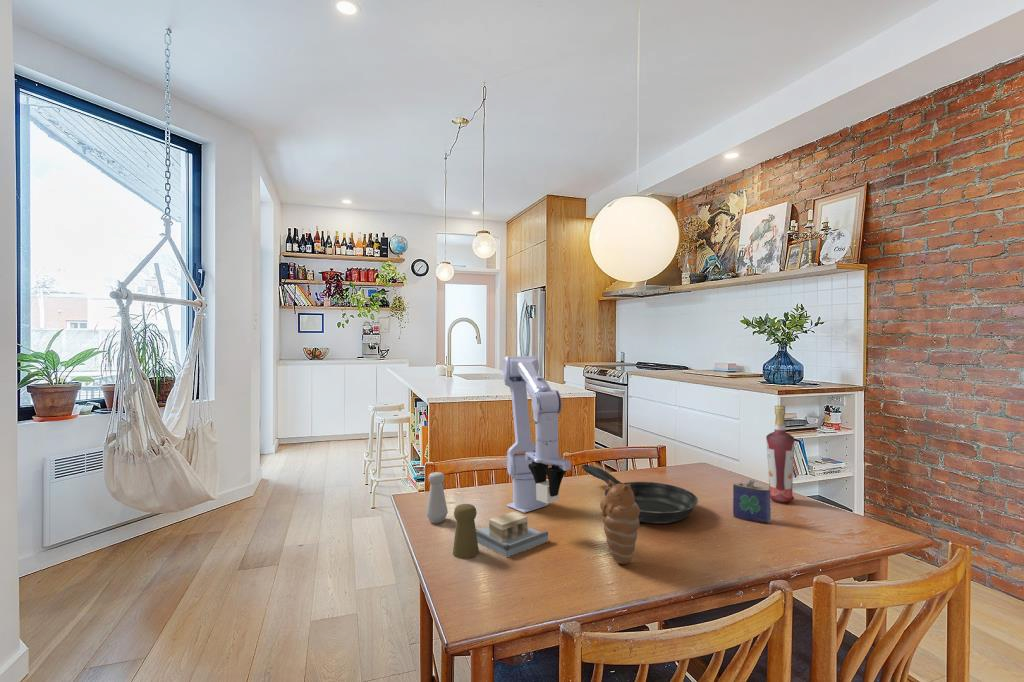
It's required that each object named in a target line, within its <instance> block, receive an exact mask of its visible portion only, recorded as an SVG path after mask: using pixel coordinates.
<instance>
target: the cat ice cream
mask: <svg viewBox="0 0 1024 682" xmlns="http://www.w3.org/2000/svg"><path fill="white" fill-rule="evenodd" d="M608 488H609V491H608V493H607V495H606V496H604V497H602V499H601V500H600V505H599V507H600V510H601V514H600V515H601V517H600V518H601V521H602V522H603V532H604V535H605V536H606V537H605V539H606V544H607V546H608V548H609V551H610V552H609V553H610V555H611V557H612V559H613V560H614V561H615V562H616V563H617V564H619V565H627V564H629V563H630V562H632V559H633V556H634V555H633V554H634V551H635V547H636V541H637V538H638V531H639V529H640V525H641V523H640V521H639V519H638V516H639V514H640V509H639V507H638V505H637V503H636V502H635V499H634V494H633V491H632V490H631V484H627V485H625V484H615V483H614V482H613V481H611V480H609V486H608Z"/></svg>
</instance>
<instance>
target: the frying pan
mask: <svg viewBox="0 0 1024 682" xmlns="http://www.w3.org/2000/svg"><path fill="white" fill-rule="evenodd" d="M581 467H582V469H583V471H585V472H586V473H587V474H589V475H591V476H592V477H594V478H597V479H599V480H601V481H603V482H605V483H606V485H608V487H607V488H606V489H605V492H604V497H606V495H607V493H608V491H609V480H611V481H613V482H614V483H615V484H625V485H627V484H631V490H632V491H633V494H634V499H635V502H636V503H637V505H638V507H639V509H640V514H639V516H638V519H639V523H640V522H641V523H645V524H670V523H675V522H679V521H681V520H683V519H685V518H687V516H689V515H691V513H692V512H693V510H694V508H695V507H696V506H697V505H698V504H699V498H698V497H697V496H696V495H695V494H694V493H693V492H691V491H690V490H688V489H685V488H682V487H679V486H675V485H673V484H672V485H671V484H666V483H661V482H652V481H651V482H650V481H629V482H621V481H619V479H617V478H616V477H615V476H614V475H612V474H610V473H609V472H608V471H606V470H604V469H602V468H600V467H598V466H594V465H591V464H582V466H581Z"/></svg>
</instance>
